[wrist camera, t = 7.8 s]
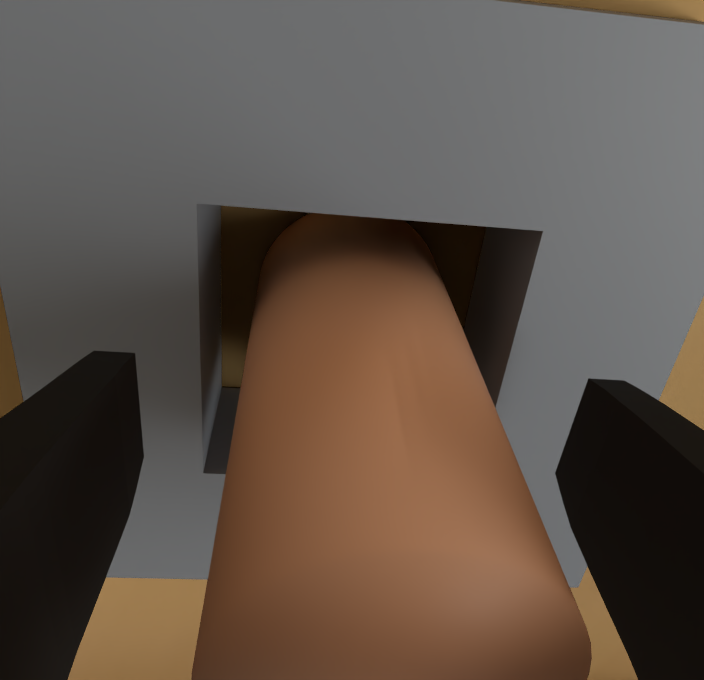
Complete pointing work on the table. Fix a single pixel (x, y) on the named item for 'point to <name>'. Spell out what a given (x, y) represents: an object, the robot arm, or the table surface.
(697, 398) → the table surface
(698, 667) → the robot arm
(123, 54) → the socket board
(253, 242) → the table surface
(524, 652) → the peg
